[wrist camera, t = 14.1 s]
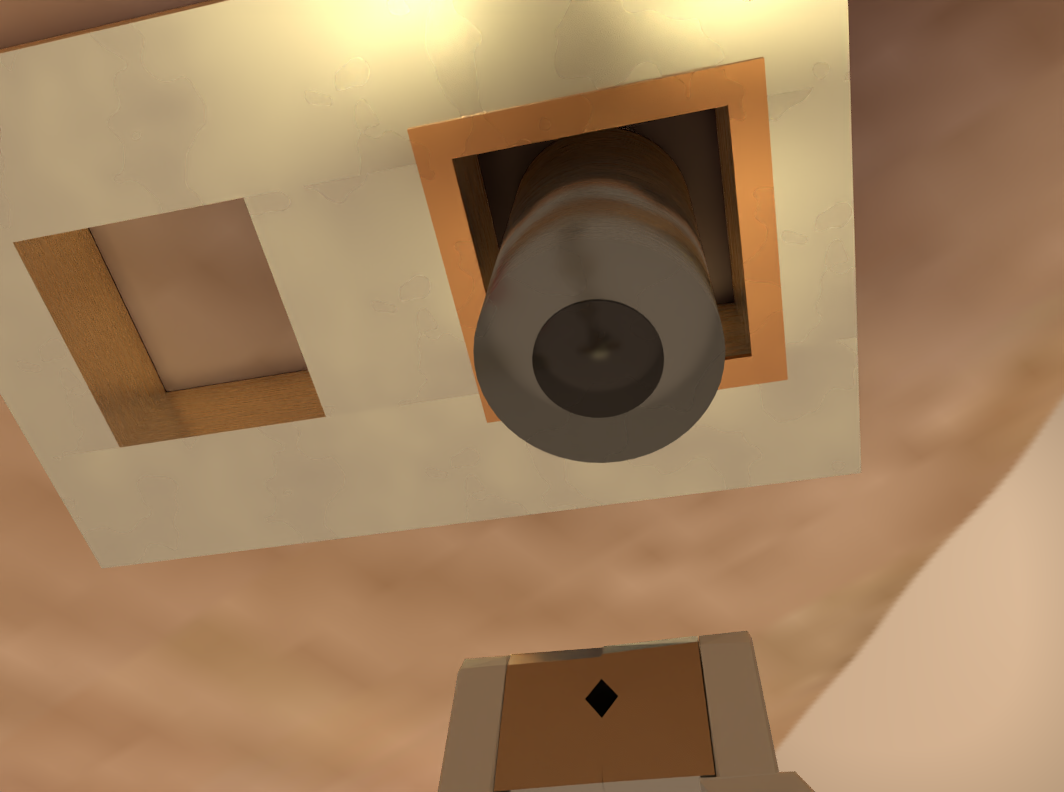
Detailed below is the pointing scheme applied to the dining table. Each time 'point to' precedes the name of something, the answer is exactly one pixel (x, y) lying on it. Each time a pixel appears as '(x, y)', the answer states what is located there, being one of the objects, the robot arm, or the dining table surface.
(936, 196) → the dining table surface
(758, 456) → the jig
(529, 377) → the steel sleeve
